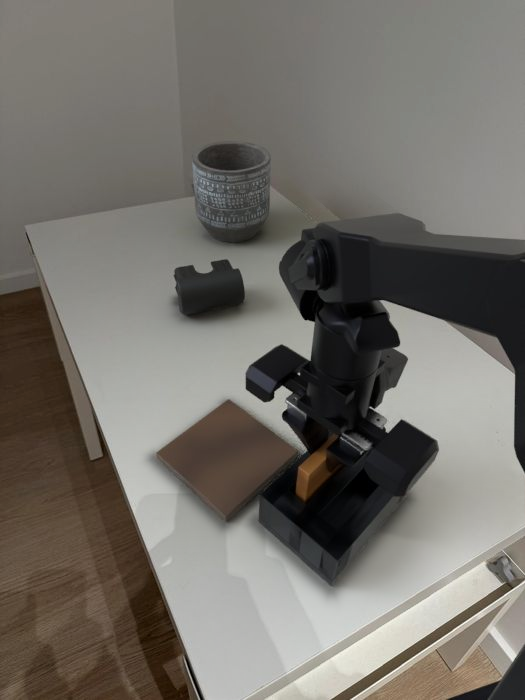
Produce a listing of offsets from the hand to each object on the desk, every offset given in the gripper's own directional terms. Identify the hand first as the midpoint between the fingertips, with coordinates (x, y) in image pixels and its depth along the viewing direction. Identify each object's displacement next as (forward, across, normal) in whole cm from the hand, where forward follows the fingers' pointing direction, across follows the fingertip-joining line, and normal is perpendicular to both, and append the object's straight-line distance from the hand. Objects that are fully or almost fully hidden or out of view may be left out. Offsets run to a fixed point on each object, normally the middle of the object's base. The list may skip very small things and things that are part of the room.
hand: (325, 464), depth 54 cm
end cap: (+7, +35, -15) cm, 39 cm away
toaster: (+6, -2, 0) cm, 7 cm away
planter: (+7, +50, -35) cm, 61 cm away
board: (+6, +12, +4) cm, 14 cm away
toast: (+6, 0, 0) cm, 6 cm away
